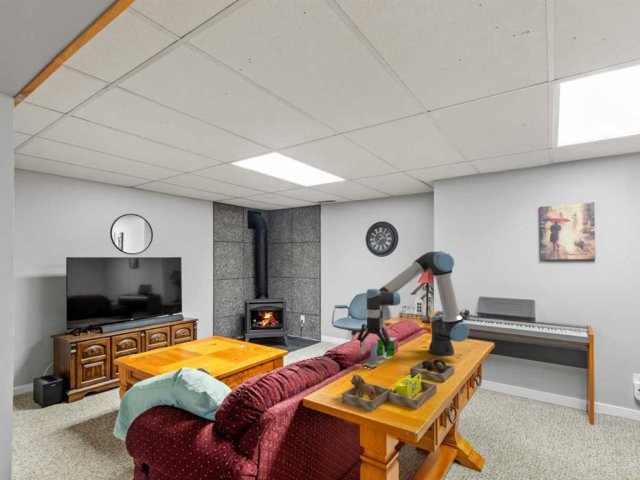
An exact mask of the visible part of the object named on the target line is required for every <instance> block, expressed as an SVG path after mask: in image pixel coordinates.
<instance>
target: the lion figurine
mask: <svg viewBox="0 0 640 480" xmlns="http://www.w3.org/2000/svg"><path fill="white" fill-rule="evenodd" d="M349 382H350V383H351V385H353V387H356V389H357V390H358V394H359V395H357V396H356V397H360V398H364V396H365V394H367V396H368V398H369V399H368V400H370V401H372V400H373V399H375V398H376V394H375V393H374V392H375V390H374V388H373V386H370V385H367V384H366V383H367V382H365V380H364V378H363V377H362V376H360V375H359V374H356V373H355V374H352V378H351V380H349ZM361 391H362V393H361Z"/></svg>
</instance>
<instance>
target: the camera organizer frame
mask: <svg viewBox="0 0 640 480" xmlns="http://www.w3.org/2000/svg"><path fill="white" fill-rule="evenodd" d="M421 385H422V390H421V391H424V392H422V393H421V394H420V395H418V396H416V397H415V398H413V397H412V398H410V397H407V396H403V395H399V394H396V388H394V389H393V390H392V391H391V392H390V393H389V400H388V402H389V403H393V404H396V405H400V406H403V407H407V408H411V409H414V410H419V409H420V408H421V407H422V406H423V405H424V404H426V403H427V402H428V401H429V400H430V399H431V398H432V397H433V396H434V395H436V394H437V383H433V382H428V381H424V380H421Z"/></svg>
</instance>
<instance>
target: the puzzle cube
mask: <svg viewBox="0 0 640 480" xmlns="http://www.w3.org/2000/svg"><path fill="white" fill-rule="evenodd" d="M388 337H389V339H390V342H391V344H390V345H388V351H387V352H386V356H395V355H396V354H397V353H398V352H399V346H398V345H399V339H398V337H391V336H388ZM383 346H384V344H383V343H382V341H381V340H380V338H378V339H377V355H378V354H379V355H380V354H381V355H383Z"/></svg>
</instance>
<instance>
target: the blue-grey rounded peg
mask: <svg viewBox="0 0 640 480" xmlns="http://www.w3.org/2000/svg"><path fill="white" fill-rule="evenodd" d="M377 357H378V344H377V343H376V342H371V343H370V360H369V361H370V363H372V364H377V363H378V361H377Z"/></svg>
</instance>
